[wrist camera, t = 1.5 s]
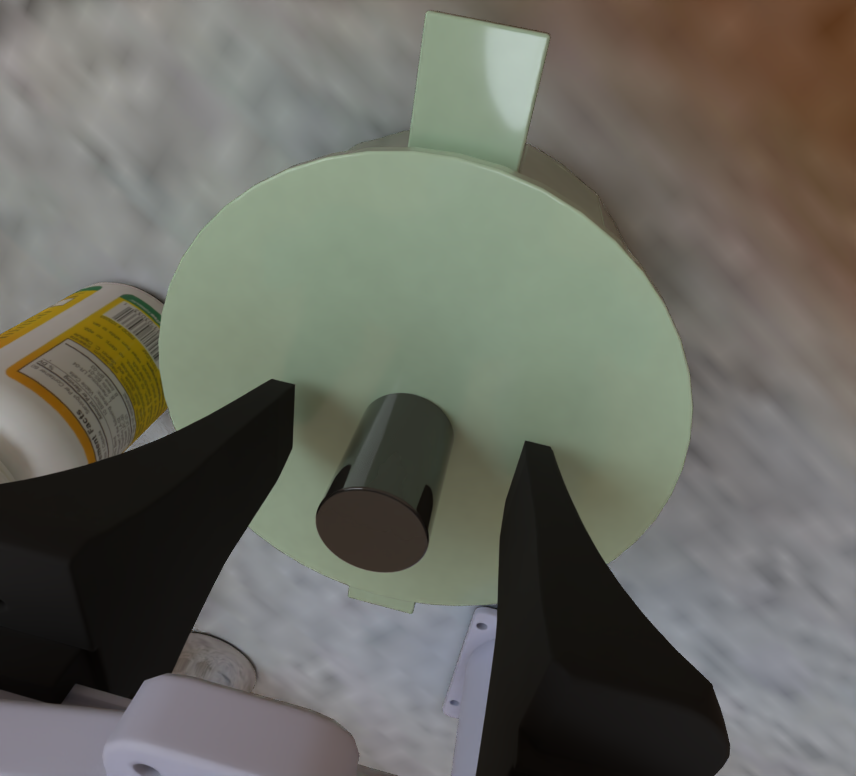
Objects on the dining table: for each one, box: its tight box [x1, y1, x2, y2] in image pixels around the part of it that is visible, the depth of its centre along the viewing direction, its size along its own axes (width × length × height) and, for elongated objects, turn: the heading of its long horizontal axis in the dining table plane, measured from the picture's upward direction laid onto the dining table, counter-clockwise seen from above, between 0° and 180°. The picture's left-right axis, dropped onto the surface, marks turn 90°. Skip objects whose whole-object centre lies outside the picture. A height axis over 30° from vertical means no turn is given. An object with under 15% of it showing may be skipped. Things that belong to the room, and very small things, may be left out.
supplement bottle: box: [0, 282, 168, 484], centre depth 19 cm, size 5×5×10 cm
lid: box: [158, 147, 693, 606], centre depth 14 cm, size 13×13×5 cm
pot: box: [348, 11, 629, 614], centre depth 18 cm, size 12×18×6 cm
